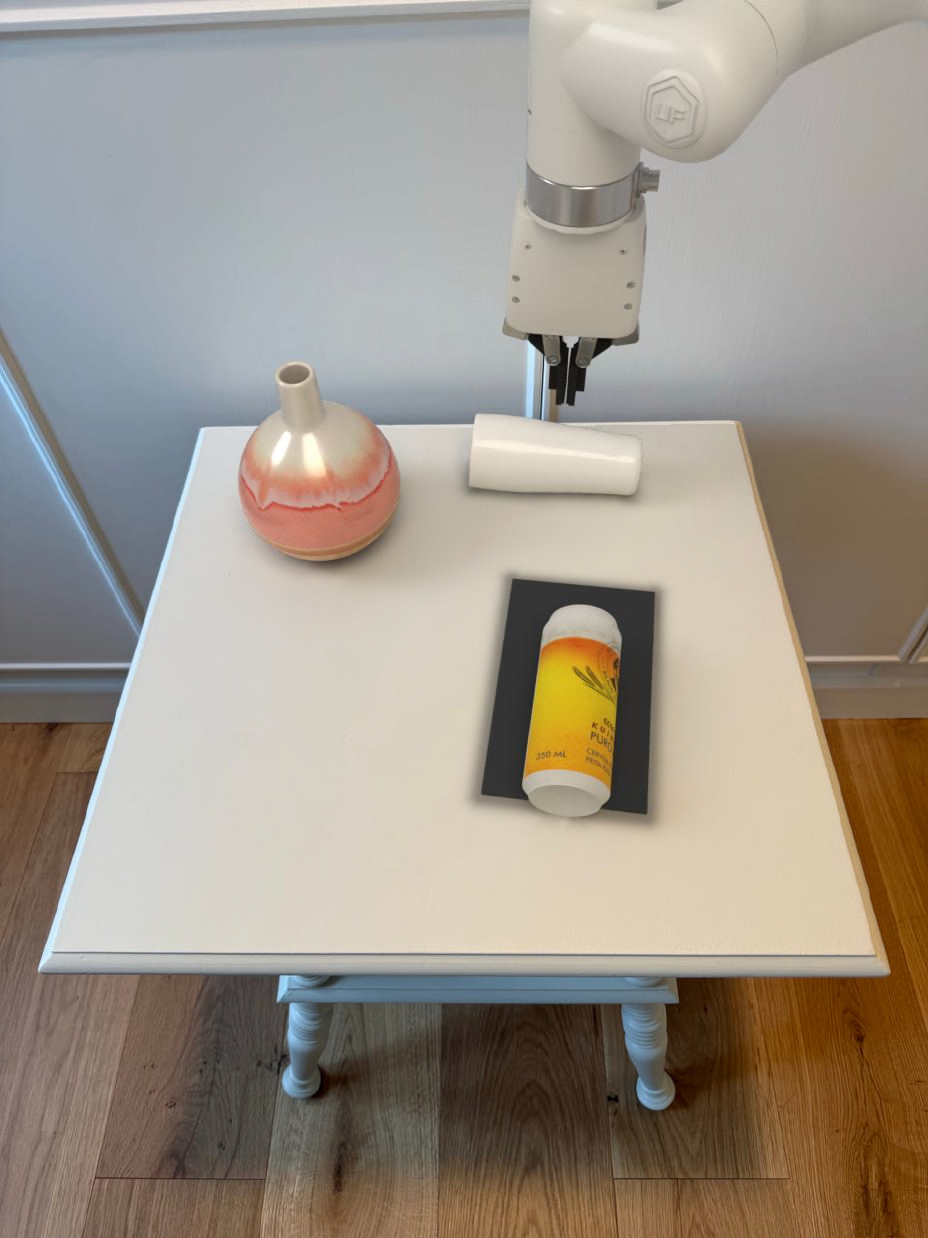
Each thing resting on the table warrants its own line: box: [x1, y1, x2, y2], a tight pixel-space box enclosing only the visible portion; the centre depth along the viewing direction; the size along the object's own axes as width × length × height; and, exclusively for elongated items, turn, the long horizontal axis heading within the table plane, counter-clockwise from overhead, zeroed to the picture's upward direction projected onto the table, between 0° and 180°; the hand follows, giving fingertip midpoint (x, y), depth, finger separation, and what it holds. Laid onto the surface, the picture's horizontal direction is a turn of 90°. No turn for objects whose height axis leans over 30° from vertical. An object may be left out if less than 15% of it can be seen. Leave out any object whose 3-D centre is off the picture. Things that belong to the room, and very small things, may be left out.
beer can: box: [522, 605, 622, 818], centre depth 68 cm, size 6×6×15 cm
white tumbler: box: [468, 412, 644, 496], centre depth 83 cm, size 7×7×15 cm
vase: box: [237, 360, 402, 562], centre depth 76 cm, size 14×14×18 cm
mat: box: [480, 578, 656, 815], centre depth 72 cm, size 12×20×1 cm, turn 172°
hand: (566, 394), depth 78 cm, fingers closed
